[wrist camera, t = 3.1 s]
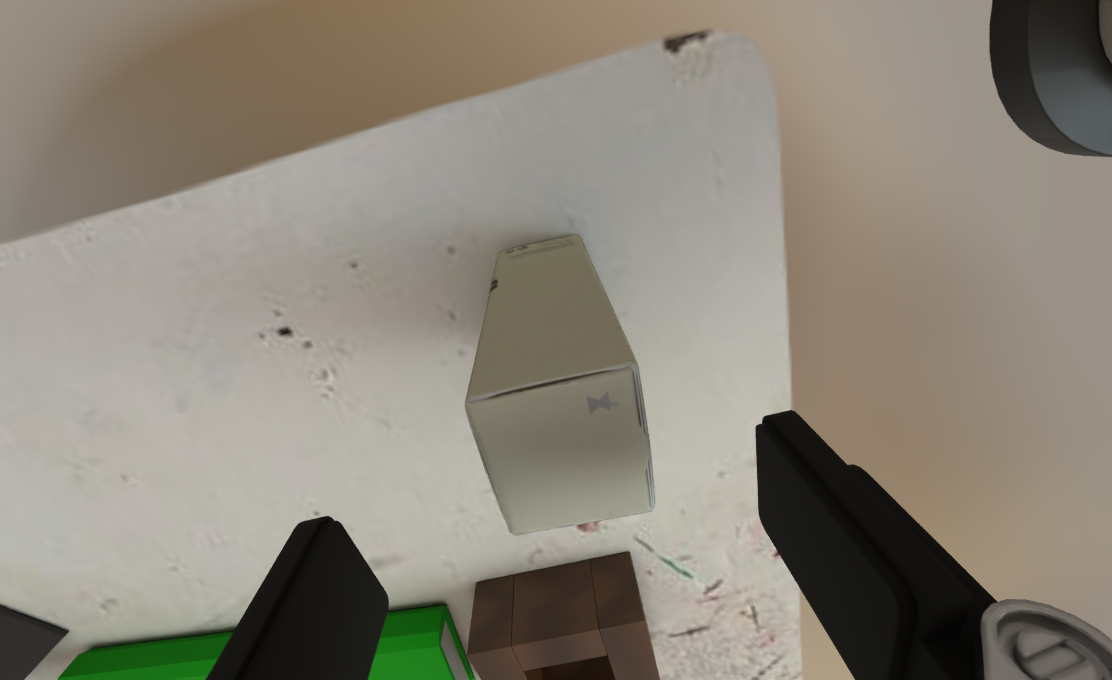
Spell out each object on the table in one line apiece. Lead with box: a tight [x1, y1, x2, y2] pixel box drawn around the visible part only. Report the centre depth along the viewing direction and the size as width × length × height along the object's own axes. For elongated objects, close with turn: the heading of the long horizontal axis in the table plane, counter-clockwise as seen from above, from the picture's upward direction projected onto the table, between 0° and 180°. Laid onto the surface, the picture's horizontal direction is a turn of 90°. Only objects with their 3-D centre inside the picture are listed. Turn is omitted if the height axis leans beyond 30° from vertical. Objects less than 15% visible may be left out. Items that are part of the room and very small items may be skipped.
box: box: [465, 235, 655, 535], centre depth 17 cm, size 5×4×13 cm
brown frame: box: [467, 552, 660, 680], centre depth 32 cm, size 12×12×5 cm
